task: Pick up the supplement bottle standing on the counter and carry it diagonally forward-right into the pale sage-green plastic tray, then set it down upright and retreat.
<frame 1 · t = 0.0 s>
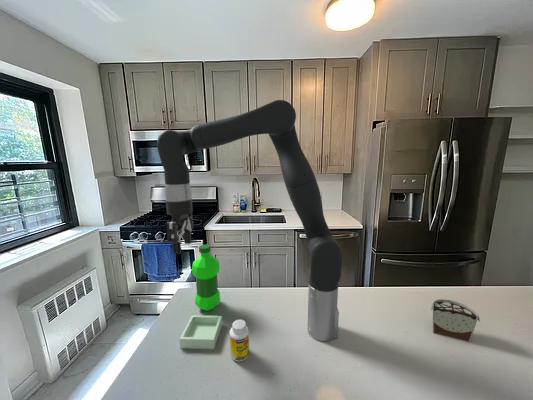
hand: (182, 248, 73), 29 cm above the worktop, fingers open, 8 cm apart
supplement bottle: (240, 355, 68), on the worktop
plastic bottle: (208, 306, 90), on the worktop
mint chocolate cake slice: (448, 332, 76), on the worktop
tray: (202, 335, 75), on the worktop
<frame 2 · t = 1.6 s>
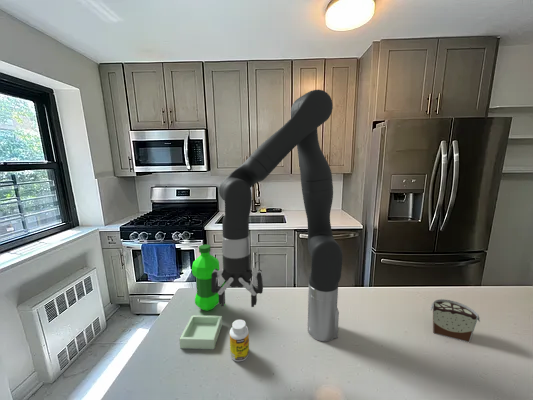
hand: (237, 305, 65), 16 cm above the worktop, fingers open, 8 cm apart
nothing on the worktop moved.
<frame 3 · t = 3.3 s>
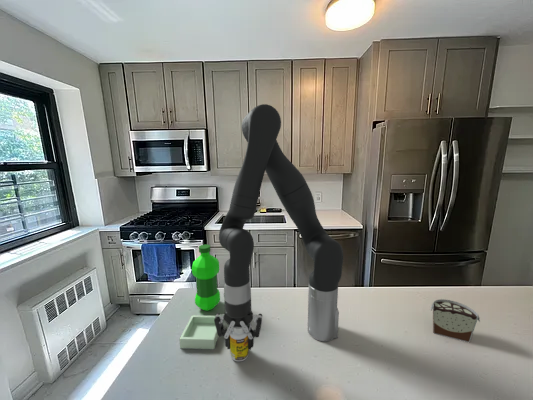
hand: (239, 346, 67), 3 cm above the worktop, fingers closed on supplement bottle, 5 cm apart
supplement bottle: (239, 355, 68), on the worktop, touching gripper
everything else where it was.
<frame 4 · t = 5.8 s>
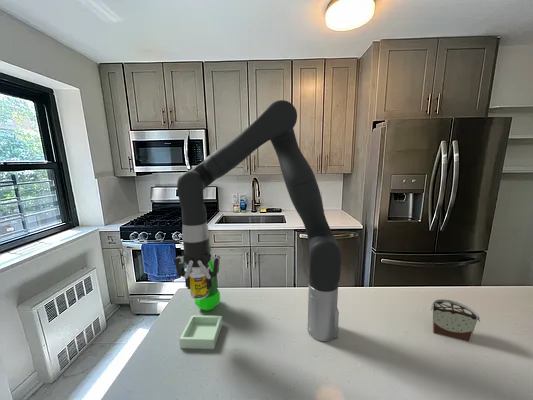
hand: (199, 287, 72), 17 cm above the worktop, fingers closed on supplement bottle, 5 cm apart
supplement bottle: (200, 295, 72), point 14 cm above the worktop, touching gripper
everything else where it was.
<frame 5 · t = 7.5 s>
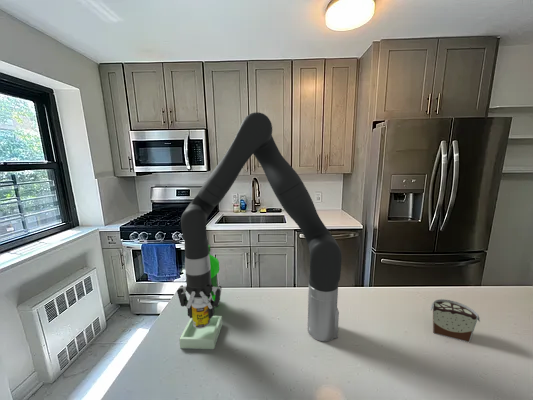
hand: (201, 316, 74), 7 cm above the worktop, fingers closed on supplement bottle, 5 cm apart
supplement bottle: (201, 324, 74), point 4 cm above the worktop, touching gripper
everything else where it was.
when the fingers open (4 cm above the worktop, at t = 8.6 s): supplement bottle drops 1 cm, resting on tray.
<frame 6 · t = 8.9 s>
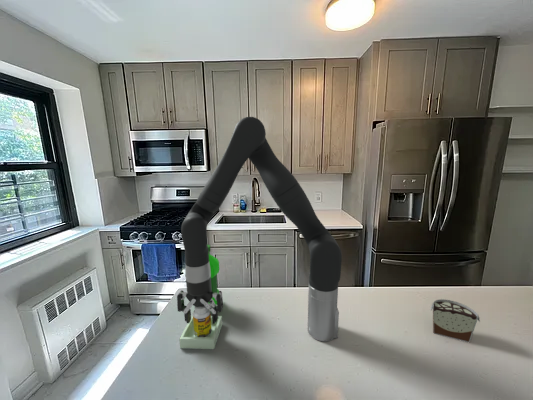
hand: (201, 321, 74), 5 cm above the worktop, fingers open, 8 cm apart
supplement bottle: (203, 333, 75), point 1 cm above the worktop, touching tray
everything else where it was.
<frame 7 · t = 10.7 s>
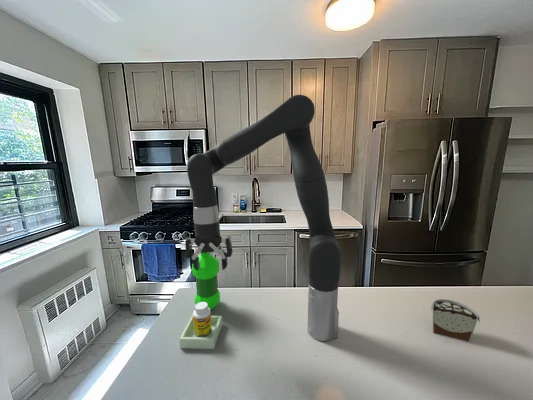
hand: (210, 269, 73), 23 cm above the worktop, fingers open, 8 cm apart
nothing on the worktop moved.
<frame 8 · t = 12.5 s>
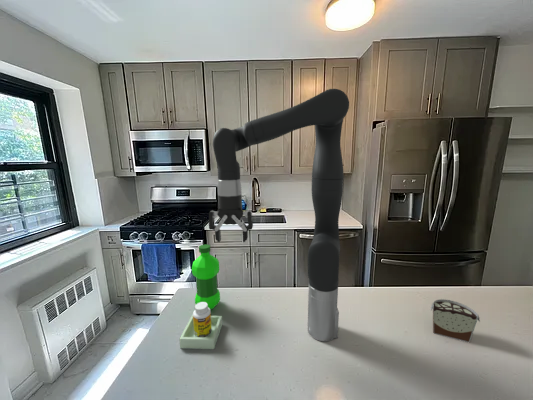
hand: (231, 241, 76), 30 cm above the worktop, fingers open, 8 cm apart
nothing on the worktop moved.
at the end: supplement bottle inside the target area on the tray (0.3 cm from its centre), point 0.6 cm above the tray's base; supplement bottle tilted 0°; the gripper is holding nothing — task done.
